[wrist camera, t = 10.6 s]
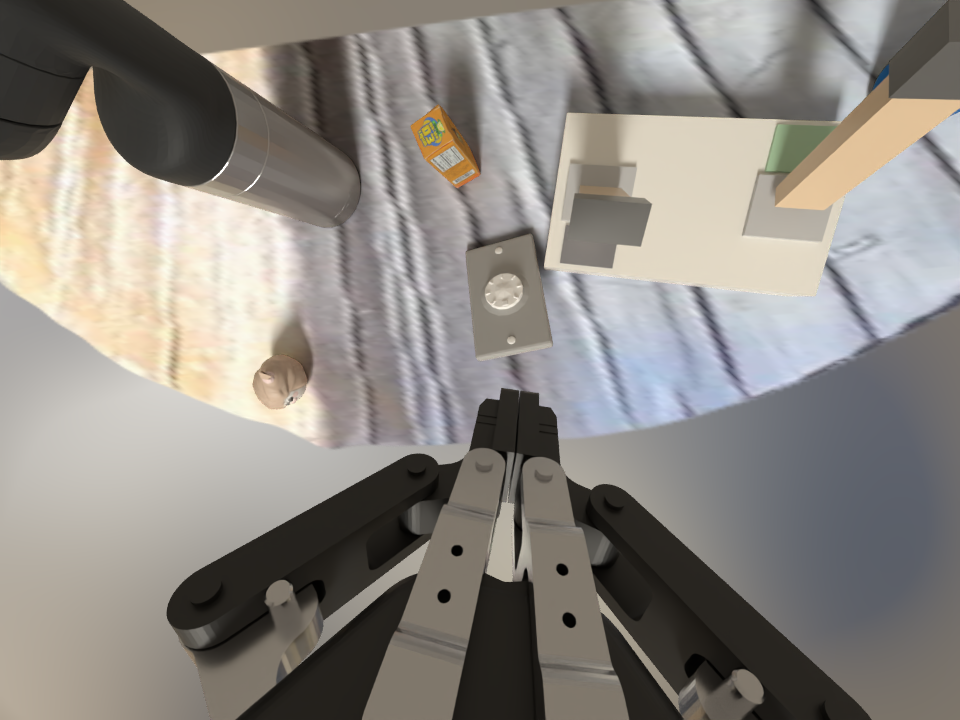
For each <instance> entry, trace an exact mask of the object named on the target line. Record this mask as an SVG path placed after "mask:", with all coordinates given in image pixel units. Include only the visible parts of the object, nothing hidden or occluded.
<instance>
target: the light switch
mask: <svg viewBox="0 0 960 720" xmlns="http://www.w3.org/2000/svg"><path fill="white" fill-rule="evenodd" d="M466 264H467V274H468V284H469V294H470V304H471V314H472V323H473V333H474V343H475V353H476V358H477V359H478V360H479V361H484V360H489V359H494V358H499V357H504V356H509V355H514V354H519V353H524V352H529V351H534V350H539V349H545V348H550V347H552V346H553V341H552V336H551V330H550V325H549V320H548V314H547V309H546V303H545V298H544V293H543V287H542V282H541V276H540V271H539V266H538V260H537V255H536V250H535V244H534V239H533V235H532V234H527V235H523V236H520V237H516V238H512V239H509V240H505V241H501V242H498V243H494V244H491V245H487V246H483V247H480V248H476V249H473V250H469V251H466ZM521 282H522V283H521ZM523 287H524V288H523Z"/></svg>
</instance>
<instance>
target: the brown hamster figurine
mask: <svg viewBox="0 0 960 720" xmlns="http://www.w3.org/2000/svg"><path fill="white" fill-rule="evenodd" d="M306 384H307V377H306V374H305V372H304V370H303V366H302V365H301V364H300V363H299V362H298V361H297V360H295V359H293V358H291V357H289V356H286V355H276V356H273V357H271V358H269V359H267V360H266V361H265V362H264V363H263V364H262V365H261V368H260V369H259V370H258V371H257V372H256V373H255V376H254V380H253V388H254V391H255V393H256V395H257V397H258V399H259V400H260V401H261V402H262V403H263V404H264V405H266V406H267V407H268V408H269V409H283V408H285V407H286V406H287V405H289V404H292V403H295V402H296V401H297V400H298V399H300V398H301V397H302V395H303V394H304V392H305V390H306Z"/></svg>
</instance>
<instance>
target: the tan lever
mask: <svg viewBox="0 0 960 720" xmlns="http://www.w3.org/2000/svg"><path fill="white" fill-rule="evenodd" d="M959 108H960V0H948V1H947V2H946V3H945V4H944V5H943V6H942V7H941V8H940V9H939V11H938V12H937V13H936V14H935V15H934V16H933V17H932V18H931V19H930V20H929V21H928V22H927V23H926V24H925V25H924V26H923V27H922V28H921V29H920V30H919V31H918V32H917V33H916V34H915V35H914V36H913V37H912V38H911V39H910V41H909V42H908V43H907V44H906V45H905V46H904V47H903V48H902V49H901V50H900V51H899V52H898V53H897V54H896V55H895V56H894V57H893V58H892V59H891V60H890V61H889V75H888V76H887V77H886V78H885V79H884V80H883V81H882V82H881V83H880V84H879V85H878V86H877V87H876V88H875V89H874V90H873V91H872V92H871V93H870V94H869V95H868V96H867V97H866V98H865V99H864V100H863V101H862V102H861V103H860V104H859V105H858V106H857V107H856V108H855V109H854V110H853V111H852V112H851V113H850V114H849V115H848V116H847V117H846V118H845V119H844V120H843V121H842V122H841V123H840V124H839V125H838V126H837V127H836V128H835V129H834V130H833V131H832V132H831V133H830V134H829V135H828V136H827V137H826V138H825V139H824V140H823V141H822V142H821V143H820V144H819V145H818V146H817V147H816V148H815V149H814V150H813V151H812V152H811V153H810V154H809V155H808V156H807V157H806V158H805V159H804V160H803V161H802V162H801V163H800V164H799V165H798V166H797V167H796V168H795V169H794V170H793V171H792V172H791V173H790V174H789V175H788V176H787V177H786V178H785V179H784V180H783V181H782V182H781V183H780V184H779V185H778V186H777V187H776V193H775V207H783V208H797V209H812V210H825V209H826V208H828V207H829V206H830V205H832V204H833V203H834V202H836V201H837V200H838V199H840V198H841V197H842V196H844V195H845V194H846V193H848V192H849V191H850V190H852V189H853V188H854V187H856V186H857V185H858V184H860V183H861V182H862V181H864V180H865V179H866V178H868V177H869V176H870V175H872V174H873V173H874V172H876V171H877V170H878V169H880V168H881V167H882V166H884V165H885V164H886V163H888V162H889V161H890V160H892V159H893V158H894V157H896V156H897V155H898V154H900V153H901V152H902V151H904V150H905V149H906V148H908V147H909V146H910V145H912V144H913V143H914V142H916V141H917V140H918V139H920V138H921V137H922V136H924V135H925V134H926V133H928V132H929V131H930V130H932V129H933V128H934V127H936V126H937V125H938V124H940V123H941V122H942V121H944V120H945V119H946V118H948V117H949V116H950V115H951V114H953V113H954V112H955V111H957V110H958V109H959Z"/></svg>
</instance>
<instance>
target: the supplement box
mask: <svg viewBox="0 0 960 720" xmlns="http://www.w3.org/2000/svg"><path fill="white" fill-rule="evenodd" d="M411 129H412V131H413V134H414V136H415V138H416V141H417V143H418V145H419V147H420V150H421V152H422V154H423V157H424V159H425V160H426V161H427V162H428V163H430V164H431V165H432V166H433V167H434V168H435V169H436V170H437V171H438V172H439V173H441V174H442V175H443V176H444V177H445V178H446V179H447V180H448V181H449V182H451V183H452V184H453V185H454V186H455V187H456V188H459V187H460V186H462V185H464V184H465V183H467V182H469V181H471V180H472V179H474V178H476V177H478V176H479V175H480V171H479V168H478V166H477V163H476V161H475V159H474V157H473V154H472V152H471V150H470V148H469V146H468V144H467V143H466V141H465V140H464V138H463V137H462V135H461V134H460V132H459V131H458V130H457V128H456V127H455V125H454V124H453V122H452V121H451V120H450V118H449V117H448V115H447V114H446V113H445V111H444V110H443V108H442V107H441V106H440V105H437V106H436V107H434V108H433V109H432V110H431V111H430V112H428V113H427V114H426V115H425V116H423V117H422V118H420V119H419V120H418V121H416V122H415V123H414V124H412V125H411Z"/></svg>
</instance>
